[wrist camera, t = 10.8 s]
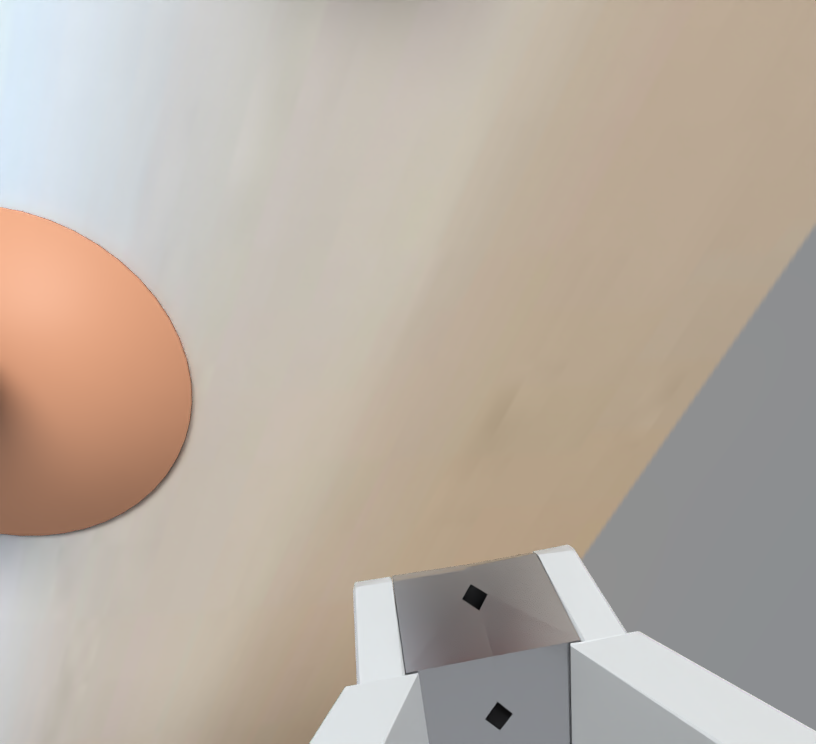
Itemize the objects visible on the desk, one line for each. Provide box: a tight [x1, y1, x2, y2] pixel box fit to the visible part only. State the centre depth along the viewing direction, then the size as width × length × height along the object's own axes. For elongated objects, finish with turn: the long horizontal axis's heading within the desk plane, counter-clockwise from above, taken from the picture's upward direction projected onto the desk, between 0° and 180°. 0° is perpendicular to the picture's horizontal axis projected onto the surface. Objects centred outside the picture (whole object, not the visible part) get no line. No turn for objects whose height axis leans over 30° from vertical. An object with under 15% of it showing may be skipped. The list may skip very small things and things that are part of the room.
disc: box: [0, 207, 192, 536], centre depth 20 cm, size 12×12×1 cm
